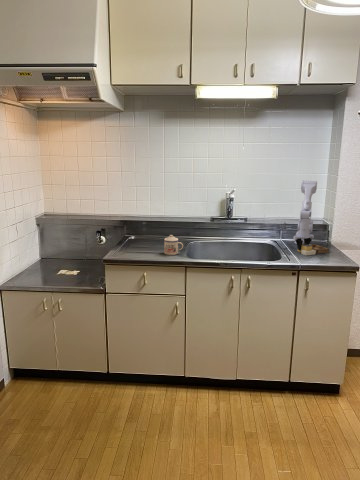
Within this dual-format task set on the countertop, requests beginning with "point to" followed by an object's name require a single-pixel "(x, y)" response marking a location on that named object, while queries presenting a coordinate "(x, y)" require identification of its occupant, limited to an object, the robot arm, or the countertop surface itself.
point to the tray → (319, 249)
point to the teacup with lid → (171, 245)
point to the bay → (308, 252)
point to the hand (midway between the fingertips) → (302, 249)
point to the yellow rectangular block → (305, 247)
